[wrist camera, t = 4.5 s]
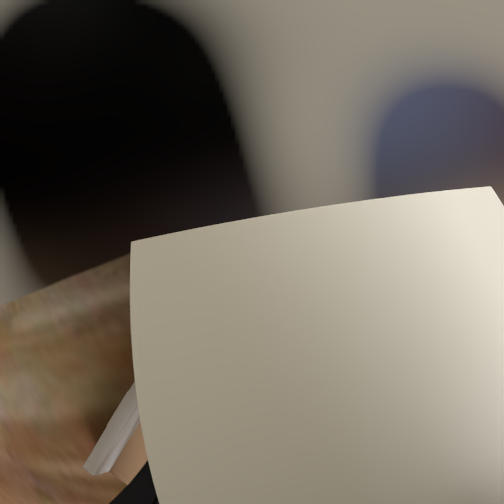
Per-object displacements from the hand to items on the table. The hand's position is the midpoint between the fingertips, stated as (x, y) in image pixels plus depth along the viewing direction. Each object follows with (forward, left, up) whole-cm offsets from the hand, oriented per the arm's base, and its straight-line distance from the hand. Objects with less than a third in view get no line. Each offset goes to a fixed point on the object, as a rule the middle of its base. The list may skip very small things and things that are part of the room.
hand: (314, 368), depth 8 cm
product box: (-1, +1, -6) cm, 6 cm away
